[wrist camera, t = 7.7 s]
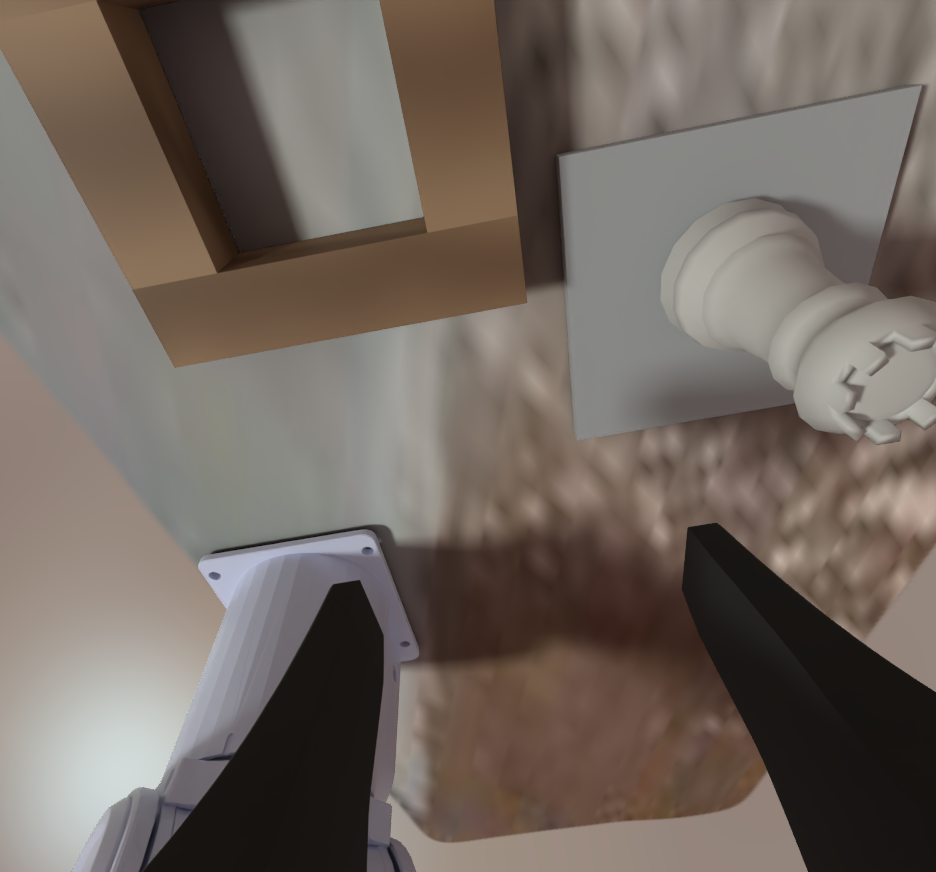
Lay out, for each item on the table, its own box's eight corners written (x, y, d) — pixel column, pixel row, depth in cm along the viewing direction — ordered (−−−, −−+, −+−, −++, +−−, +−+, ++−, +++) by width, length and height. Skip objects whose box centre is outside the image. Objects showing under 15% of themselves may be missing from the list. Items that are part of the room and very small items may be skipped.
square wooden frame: (518, 280, 17) (527, 302, 16) (198, 340, 18) (174, 367, 16) (458, -224, 11) (463, -274, 10) (-28, -109, 12) (-102, -139, 10)
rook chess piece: (756, 160, 15) (1000, 226, 9) (817, 270, 17) (1053, 393, 11) (627, 268, 17) (752, 393, 10) (696, 358, 19) (838, 511, 12)
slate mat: (830, 389, 21) (838, 396, 20) (574, 433, 21) (577, 440, 21) (908, 84, 15) (921, 85, 14) (555, 154, 15) (558, 156, 15)
